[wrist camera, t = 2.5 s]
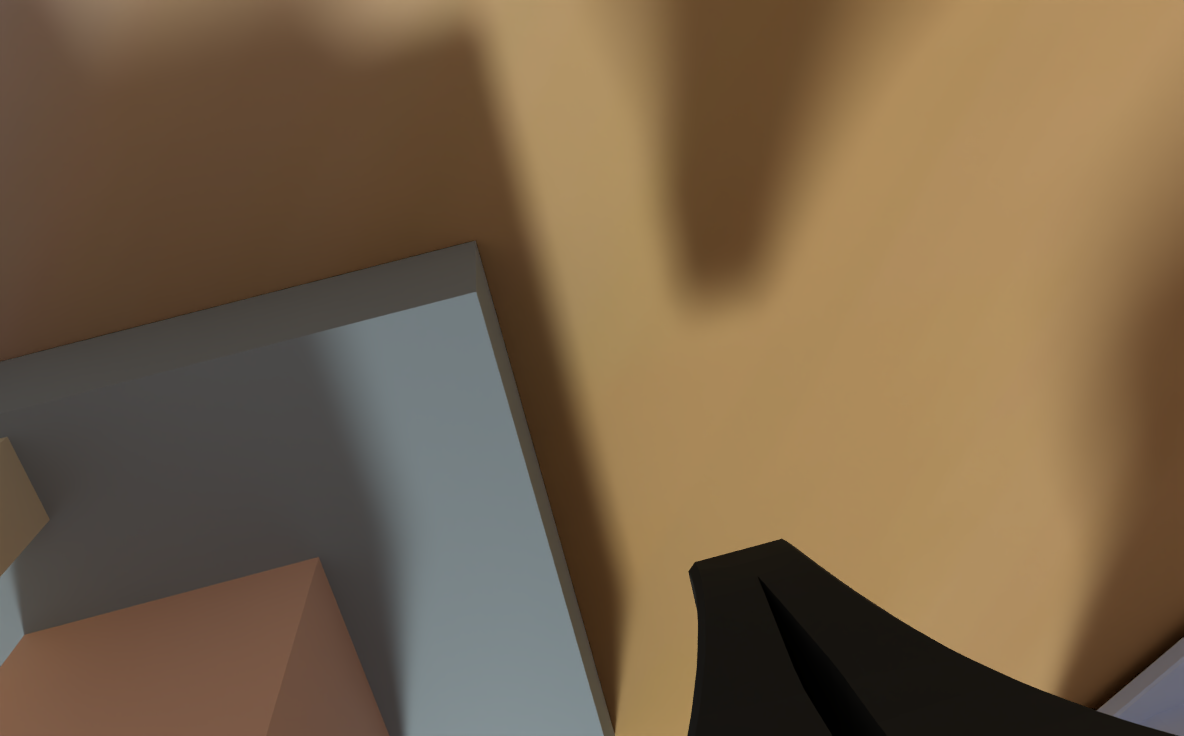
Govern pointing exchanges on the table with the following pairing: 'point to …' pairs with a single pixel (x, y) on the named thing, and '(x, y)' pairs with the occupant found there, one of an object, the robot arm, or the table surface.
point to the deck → (311, 488)
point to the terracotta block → (198, 666)
